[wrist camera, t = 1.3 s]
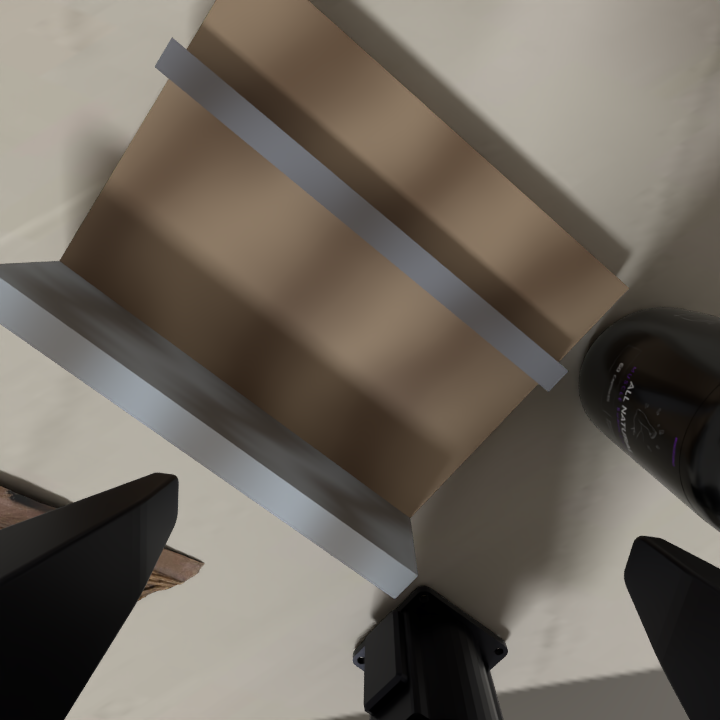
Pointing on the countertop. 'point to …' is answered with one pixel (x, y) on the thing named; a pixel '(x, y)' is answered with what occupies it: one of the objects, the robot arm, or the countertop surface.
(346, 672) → the countertop surface
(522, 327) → the cleat board
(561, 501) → the countertop surface
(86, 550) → the robot arm
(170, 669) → the countertop surface
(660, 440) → the supplement bottle
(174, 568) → the wooden fragment
